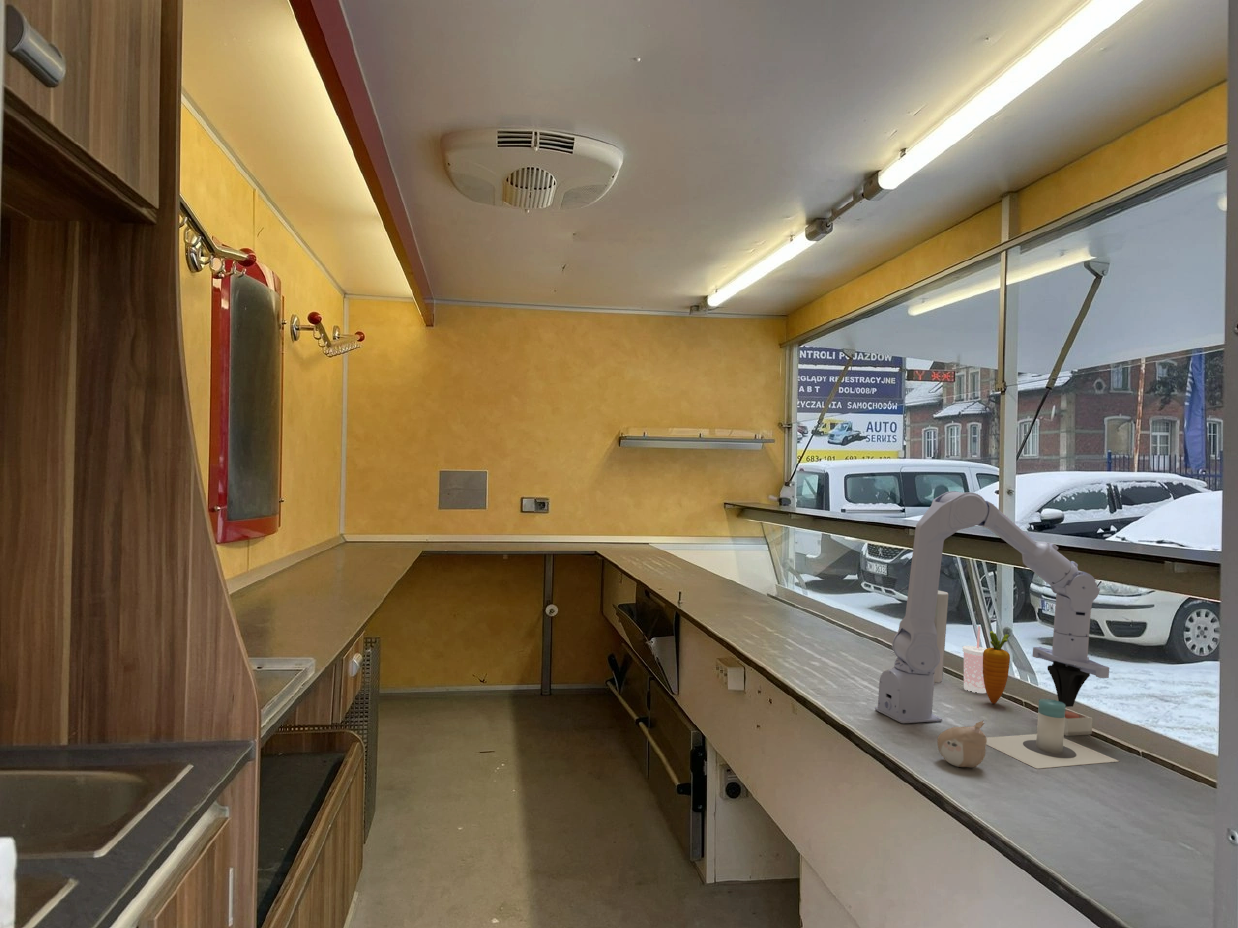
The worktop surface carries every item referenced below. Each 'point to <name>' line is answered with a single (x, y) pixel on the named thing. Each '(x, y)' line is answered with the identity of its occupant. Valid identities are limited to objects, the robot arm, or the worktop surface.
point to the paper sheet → (1031, 755)
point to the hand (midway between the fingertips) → (1066, 705)
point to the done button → (1070, 715)
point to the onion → (963, 745)
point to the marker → (1050, 725)
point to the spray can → (940, 631)
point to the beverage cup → (974, 667)
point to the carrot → (995, 668)
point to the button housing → (1077, 724)
